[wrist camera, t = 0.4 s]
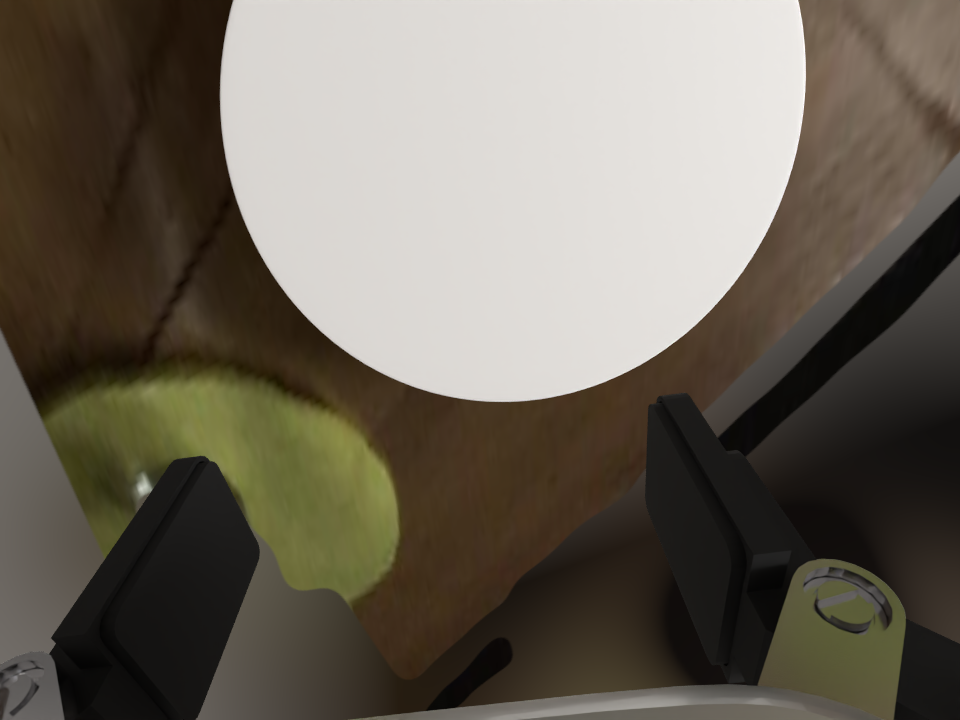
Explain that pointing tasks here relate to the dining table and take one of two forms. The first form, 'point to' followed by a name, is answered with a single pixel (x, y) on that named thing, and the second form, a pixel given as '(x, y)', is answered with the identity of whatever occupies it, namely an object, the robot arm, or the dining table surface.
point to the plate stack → (509, 174)
